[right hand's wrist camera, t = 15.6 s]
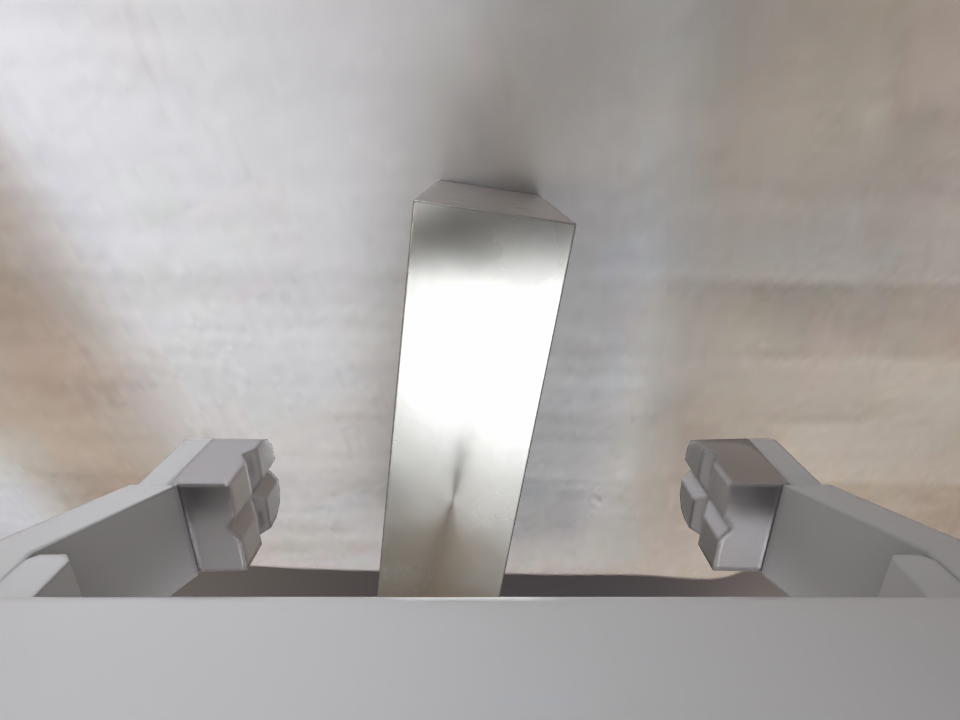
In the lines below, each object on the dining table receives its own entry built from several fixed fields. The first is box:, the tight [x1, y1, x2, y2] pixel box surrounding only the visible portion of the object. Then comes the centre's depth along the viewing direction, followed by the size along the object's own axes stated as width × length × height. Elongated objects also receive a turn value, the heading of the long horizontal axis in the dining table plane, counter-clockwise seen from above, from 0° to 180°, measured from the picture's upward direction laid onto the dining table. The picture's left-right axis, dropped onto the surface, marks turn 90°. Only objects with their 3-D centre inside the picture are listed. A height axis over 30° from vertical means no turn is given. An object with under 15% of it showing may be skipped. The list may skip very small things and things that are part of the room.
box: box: [377, 180, 576, 597], centre depth 30 cm, size 25×6×13 cm, turn 172°
